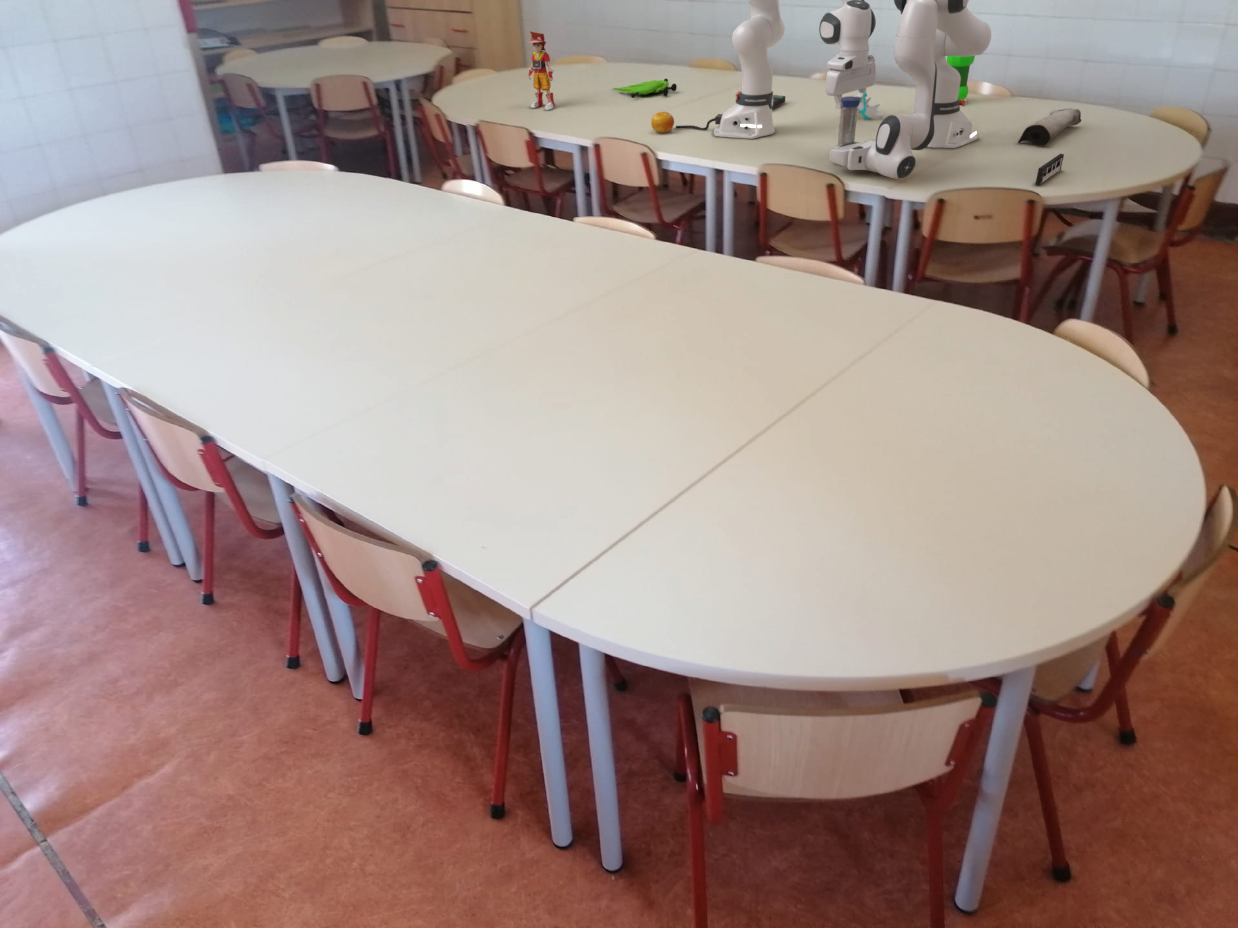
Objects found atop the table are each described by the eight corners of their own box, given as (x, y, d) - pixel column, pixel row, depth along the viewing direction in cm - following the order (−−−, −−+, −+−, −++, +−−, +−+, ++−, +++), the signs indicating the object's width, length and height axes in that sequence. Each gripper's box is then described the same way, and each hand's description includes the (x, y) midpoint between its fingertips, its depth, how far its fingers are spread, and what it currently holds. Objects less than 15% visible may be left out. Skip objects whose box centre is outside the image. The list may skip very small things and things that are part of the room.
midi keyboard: (1039, 185, 269) (1043, 168, 266) (1035, 184, 270) (1038, 168, 267) (1060, 170, 279) (1064, 154, 277) (1056, 169, 280) (1060, 153, 277)
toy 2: (686, 85, 398) (631, 84, 414) (685, 72, 395) (629, 72, 411) (651, 104, 381) (596, 103, 397) (650, 92, 378) (594, 91, 394)
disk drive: (770, 111, 358) (785, 102, 368) (771, 104, 356) (785, 95, 366) (747, 109, 362) (762, 100, 372) (747, 102, 361) (762, 93, 371)
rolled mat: (1047, 113, 322) (1072, 96, 314) (1061, 134, 323) (1087, 117, 314) (1013, 137, 305) (1039, 118, 297) (1028, 159, 305) (1054, 142, 297)
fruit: (644, 124, 337) (655, 105, 334) (651, 127, 345) (662, 108, 342) (662, 136, 336) (673, 117, 333) (668, 139, 344) (680, 120, 341)
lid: (840, 103, 290) (840, 96, 289) (859, 103, 289) (859, 96, 288) (839, 107, 285) (840, 101, 284) (859, 107, 284) (859, 101, 283)
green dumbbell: (973, 101, 354) (984, 32, 339) (955, 106, 349) (966, 36, 335) (952, 97, 361) (962, 29, 346) (934, 102, 356) (944, 33, 342)
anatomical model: (845, 88, 346) (871, 81, 345) (848, 116, 352) (873, 109, 351) (857, 98, 334) (883, 90, 333) (859, 126, 340) (885, 119, 339)
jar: (845, 166, 295) (851, 104, 283) (832, 163, 298) (838, 101, 287) (855, 163, 297) (861, 101, 286) (843, 160, 301) (848, 98, 290)
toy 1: (525, 109, 381) (517, 32, 364) (534, 104, 388) (527, 28, 371) (550, 110, 377) (543, 32, 360) (559, 105, 384) (553, 28, 367)
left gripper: (866, 52, 286) (862, 98, 294) (823, 63, 276) (820, 110, 284) (882, 55, 282) (877, 101, 290) (839, 66, 272) (835, 113, 280)
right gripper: (898, 139, 287) (869, 130, 297) (848, 151, 280) (820, 141, 290) (896, 159, 290) (867, 150, 301) (846, 171, 283) (818, 161, 293)
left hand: (849, 105), depth 287 cm, fingers open, 8 cm apart
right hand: (843, 146), depth 295 cm, fingers closed on jar, 5 cm apart
